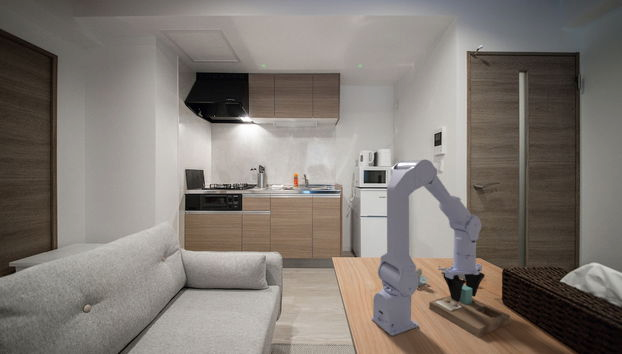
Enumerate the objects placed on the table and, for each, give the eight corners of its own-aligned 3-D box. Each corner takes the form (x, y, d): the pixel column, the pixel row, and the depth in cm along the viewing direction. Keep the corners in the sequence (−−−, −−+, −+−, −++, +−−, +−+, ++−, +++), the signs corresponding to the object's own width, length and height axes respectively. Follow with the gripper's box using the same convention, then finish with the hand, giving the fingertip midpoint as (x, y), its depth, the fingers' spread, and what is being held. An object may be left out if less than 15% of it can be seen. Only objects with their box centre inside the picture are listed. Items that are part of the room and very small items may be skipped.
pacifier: (402, 283, 90) (417, 289, 85) (402, 266, 90) (417, 271, 85) (413, 279, 94) (429, 284, 89) (413, 262, 94) (428, 267, 89)
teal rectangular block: (465, 310, 72) (465, 290, 72) (455, 305, 75) (456, 286, 75) (471, 308, 74) (472, 288, 74) (462, 303, 76) (462, 284, 76)
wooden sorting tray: (478, 337, 60) (478, 327, 60) (429, 308, 73) (429, 300, 73) (509, 322, 67) (510, 313, 67) (459, 298, 79) (459, 291, 79)
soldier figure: (446, 273, 102) (478, 273, 93) (445, 284, 99) (477, 285, 90) (436, 262, 100) (467, 261, 91) (434, 273, 97) (466, 273, 88)
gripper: (462, 260, 67) (461, 309, 68) (493, 253, 74) (491, 298, 74) (439, 253, 74) (438, 297, 74) (469, 247, 80) (468, 288, 80)
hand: (463, 297), depth 74 cm, fingers open, 7 cm apart
